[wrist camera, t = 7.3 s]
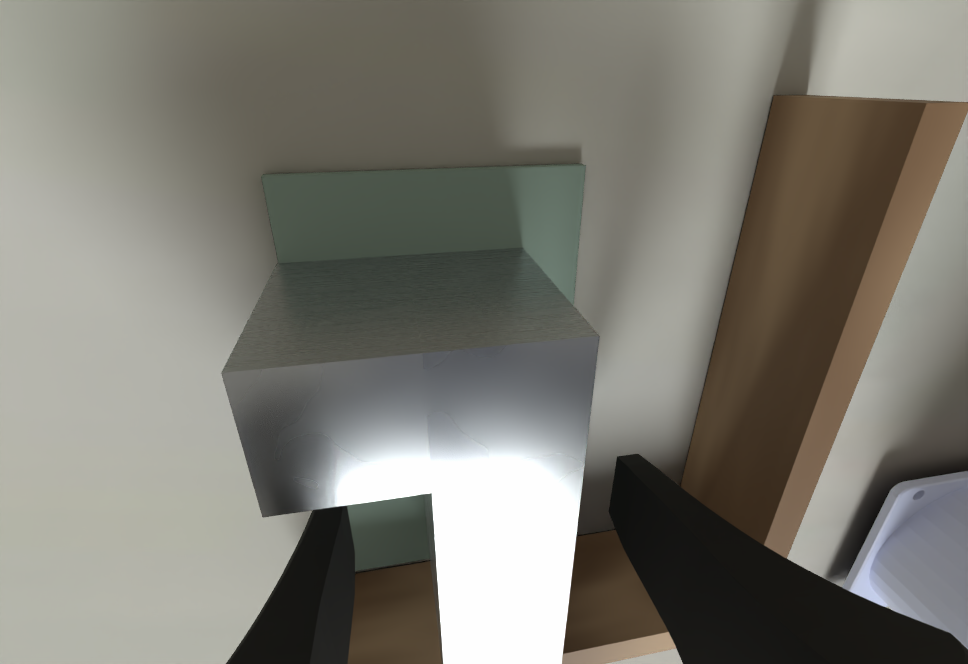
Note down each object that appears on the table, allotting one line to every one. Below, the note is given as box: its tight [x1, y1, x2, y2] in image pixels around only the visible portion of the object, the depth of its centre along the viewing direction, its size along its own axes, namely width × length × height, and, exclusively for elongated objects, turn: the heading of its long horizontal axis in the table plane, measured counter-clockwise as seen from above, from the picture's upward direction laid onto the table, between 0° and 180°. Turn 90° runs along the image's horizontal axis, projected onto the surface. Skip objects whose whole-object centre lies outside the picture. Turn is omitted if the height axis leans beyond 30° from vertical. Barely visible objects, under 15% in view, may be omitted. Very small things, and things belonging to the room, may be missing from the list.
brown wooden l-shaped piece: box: [348, 95, 968, 664], centre depth 14 cm, size 14×16×4 cm
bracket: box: [221, 247, 599, 664], centre depth 12 cm, size 10×6×5 cm, turn 0°
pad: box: [261, 164, 586, 571], centre depth 15 cm, size 8×13×1 cm, turn 0°
